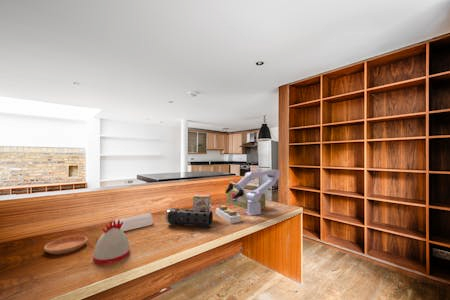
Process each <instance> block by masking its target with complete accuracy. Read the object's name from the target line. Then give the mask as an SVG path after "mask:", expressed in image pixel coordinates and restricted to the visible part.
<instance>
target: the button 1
mask: <svg viewBox="0 0 450 300" xmlns="http://www.w3.org/2000/svg"><path fill="white" fill-rule="evenodd" d="M218 208H219V209H220V210H221V211H222V210H227V208H228V206H226V205H224V204H223V205H219V207H218Z"/></svg>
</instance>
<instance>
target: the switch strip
mask: <svg viewBox="0 0 450 300" xmlns="http://www.w3.org/2000/svg"><path fill="white" fill-rule="evenodd" d="M228 209H229V210H231V209H230V208H228V207H227V210H228ZM215 214H216V215H217V216H219V217H220V218H222V219H223V220H225V222H227V223H229V224H236V223H241V221H242V215H241V214H239V213H237V215H234V216H230V215H228V213H225V212H223V210H222V211H221V210H220V209H219V207H216V208H215Z"/></svg>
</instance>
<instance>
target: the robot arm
mask: <svg viewBox="0 0 450 300" xmlns="http://www.w3.org/2000/svg"><path fill="white" fill-rule="evenodd" d="M263 176H266V180H267V181H265V182H264V183H263V184H261V185H260V186H259V187H257V188H256V189H253V190H252V191H250V192H247V193H246V191H245V190H244V189H245V187H247V185H248V184H249V183H250V182H251V181H255V180H256V179H260V178H262V177H263ZM280 178H281V172H280V170H279V169H271V168H270V169H269V168H268V169H265V170H262V171H261V170H259V169H256V170H252V171H247V172H245V173H244V176H243V177H242V178H241V179H240V180H239V181H238V182H237V183H235V182H233V181H230V182H229V185H228V187H227V188H228V189H227V190H226V189H225V194H227V193H228V192H229V191H231V190H232V189H233V188H236V189H237V190H238V191H239V192H238V193H237V194H236V195H235V196H234V199H236V198H238V197H241V196H243V194H244V195H245V194H246V199H247V201H248V209H247V211H245V214H248V215H249V216H257V215H261V214H262V211H261V210H262V209H261V204H260V202H259V199H260V198H261V194H263V193H265V192H266V191H268V190H269V189H270V188H272V187H273V186H274V185H275V184H276V183H277V180H279V179H280Z"/></svg>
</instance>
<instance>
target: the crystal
mask: <svg viewBox="0 0 450 300" xmlns="http://www.w3.org/2000/svg"><path fill="white" fill-rule="evenodd" d="M118 220H120V224H121V222H123V224H122V226H121V228H120V230H122V231H123V232H126V231H130V230H135V229H139V228H143V227H148V226H152V225H153V222H154V217H153V216H152V214H151V213H150V212H149V213H144V214H143V213H142V214H137V215H133V216H129V217H128V216H126V217H123V218H117V219H114V221H115V222H116V225H117V222H118ZM114 221H113V222H112V226H113V223H114Z"/></svg>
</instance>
